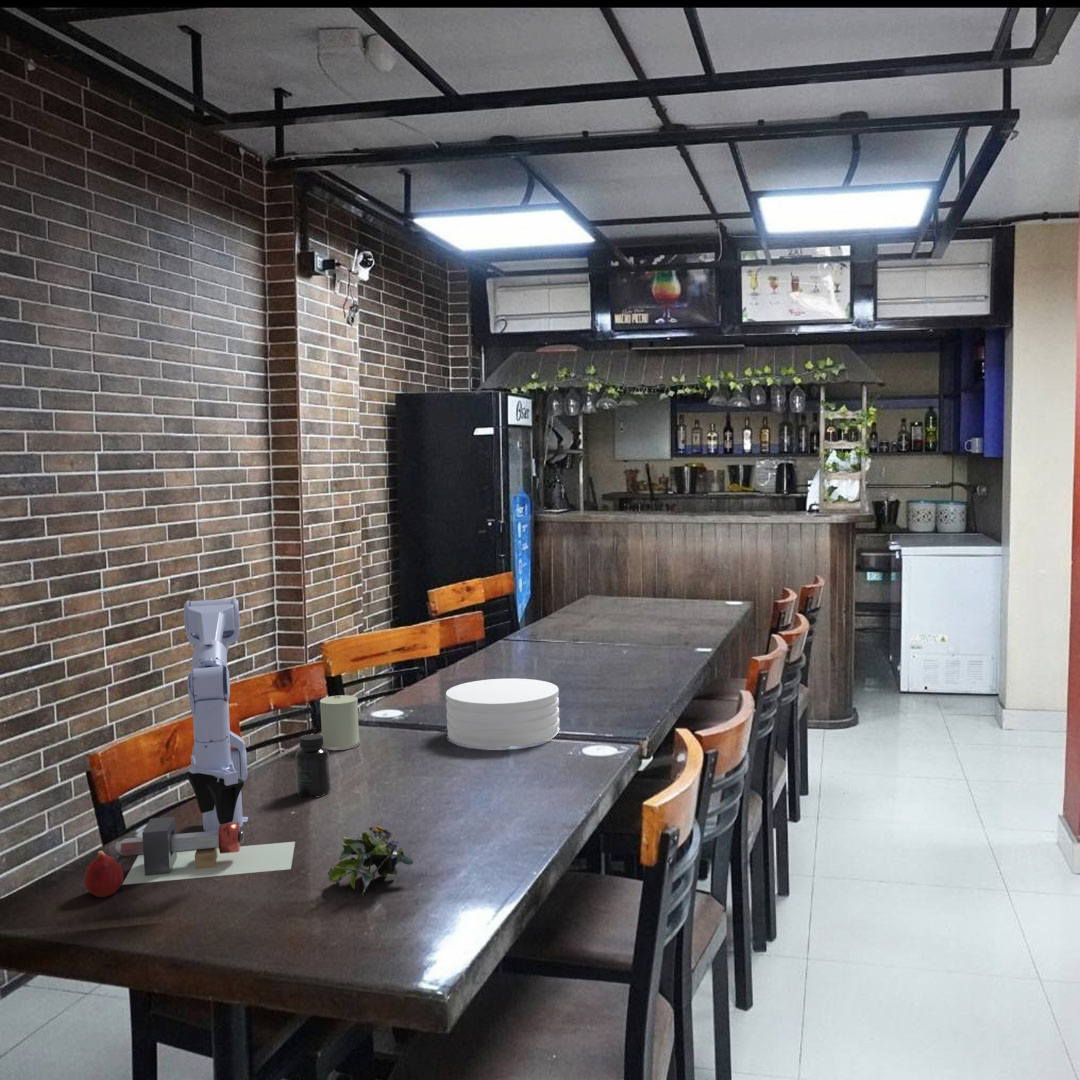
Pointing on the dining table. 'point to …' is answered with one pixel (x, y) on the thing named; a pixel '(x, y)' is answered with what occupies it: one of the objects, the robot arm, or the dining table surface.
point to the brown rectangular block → (205, 858)
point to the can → (339, 720)
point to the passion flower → (368, 857)
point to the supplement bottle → (312, 767)
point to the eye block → (158, 846)
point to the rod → (192, 841)
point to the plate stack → (502, 712)
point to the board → (220, 863)
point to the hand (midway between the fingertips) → (216, 816)
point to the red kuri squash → (103, 876)
